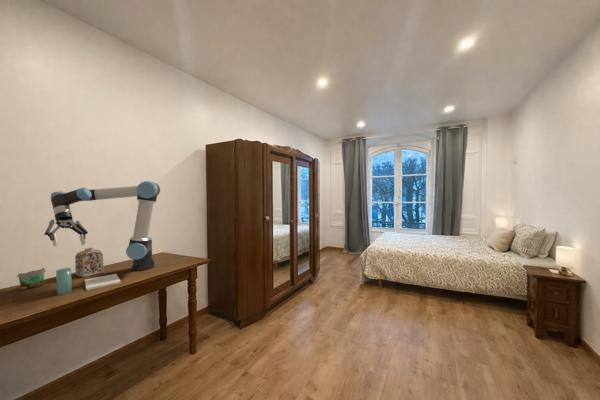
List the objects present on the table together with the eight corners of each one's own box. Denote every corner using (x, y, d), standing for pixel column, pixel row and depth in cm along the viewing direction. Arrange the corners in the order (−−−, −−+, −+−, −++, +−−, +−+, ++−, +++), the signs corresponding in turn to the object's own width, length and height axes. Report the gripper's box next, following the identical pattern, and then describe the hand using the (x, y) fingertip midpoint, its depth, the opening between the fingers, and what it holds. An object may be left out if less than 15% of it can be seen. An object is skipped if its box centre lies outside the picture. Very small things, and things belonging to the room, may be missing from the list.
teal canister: (71, 289, 140) (71, 267, 140) (71, 292, 136) (70, 269, 136) (57, 292, 136) (56, 269, 136) (56, 295, 132) (55, 272, 132)
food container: (25, 291, 138) (25, 274, 138) (17, 290, 139) (17, 273, 139) (51, 283, 150) (51, 267, 150) (44, 283, 151) (43, 267, 151)
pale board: (116, 275, 164) (116, 273, 164) (120, 283, 150) (120, 281, 150) (84, 281, 153) (84, 279, 153) (86, 290, 139) (86, 288, 139)
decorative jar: (104, 272, 171) (103, 247, 170) (83, 277, 161) (82, 250, 160) (95, 270, 176) (94, 245, 176) (75, 275, 166) (74, 249, 166)
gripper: (82, 218, 162) (90, 246, 156) (32, 216, 138) (38, 249, 132) (89, 212, 160) (97, 240, 154) (39, 209, 137) (46, 242, 131)
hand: (70, 244), depth 143 cm, fingers open, 13 cm apart
